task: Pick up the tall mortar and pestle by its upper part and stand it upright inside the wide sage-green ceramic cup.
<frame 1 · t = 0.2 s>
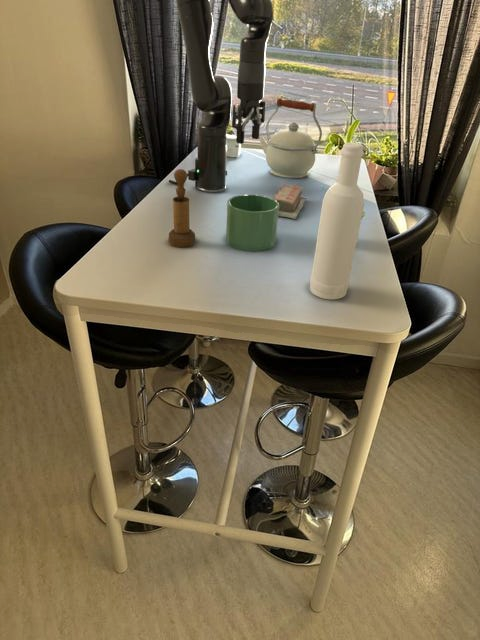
hand: (247, 141, 137), 17 cm above the table, tool pointing down, fingers open, 8 cm apart
plant pot: (340, 243, 120), on the table
kettle: (284, 172, 174), on the table
packaged product: (285, 208, 141), on the table
bottle: (327, 291, 98), on the table
mortar and pestle: (182, 242, 115), on the table
cup: (250, 240, 118), on the table
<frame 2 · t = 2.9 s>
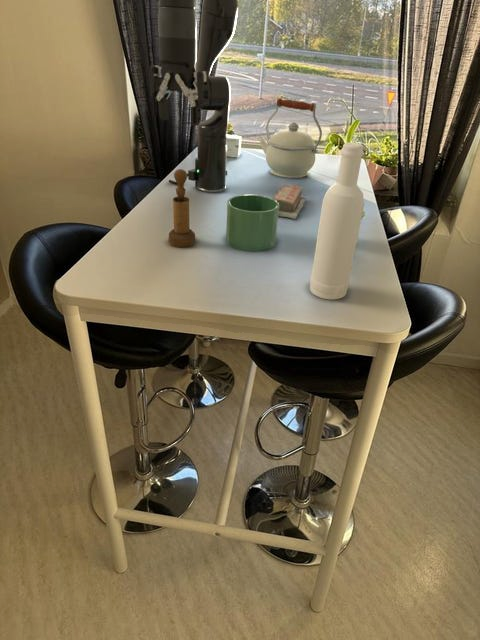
hand: (179, 122, 100), 28 cm above the table, tool pointing down, fingers open, 8 cm apart
nothing on the table moved.
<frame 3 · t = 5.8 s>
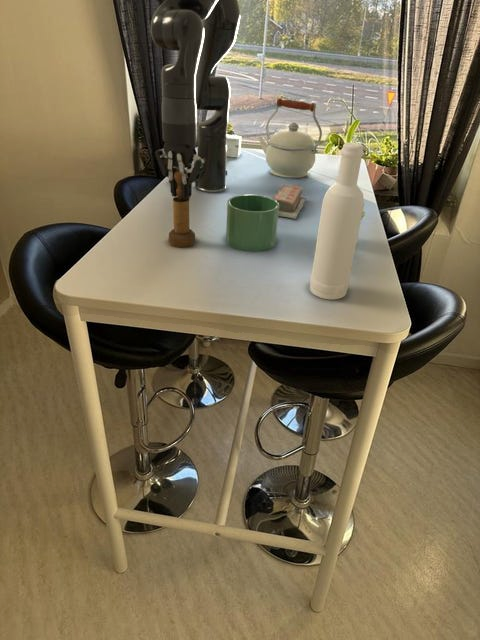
hand: (180, 197, 109), 12 cm above the table, tool pointing down, fingers closed on mortar and pestle, 2 cm apart
mortar and pestle: (182, 242, 115), on the table, touching gripper
everything else where it was.
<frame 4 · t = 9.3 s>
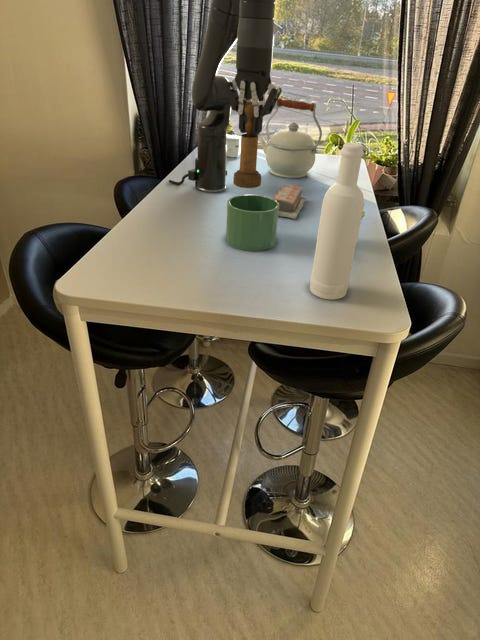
hand: (249, 133, 104), 26 cm above the table, tool pointing down, fingers closed on mortar and pestle, 2 cm apart
mortar and pestle: (247, 185, 110), point 14 cm above the table, touching gripper
everything else where it was.
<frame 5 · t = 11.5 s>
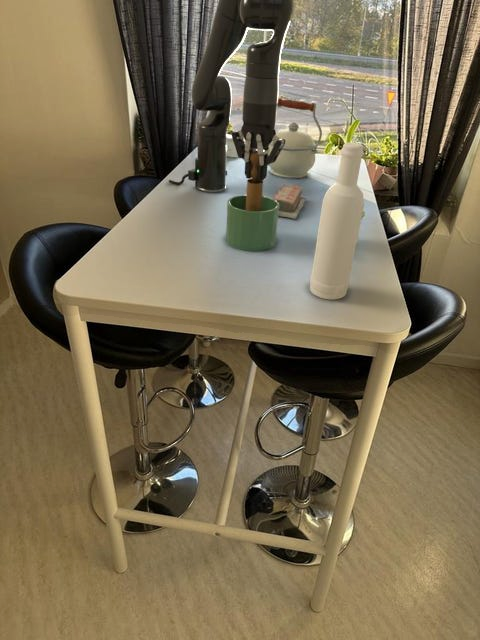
hand: (255, 178, 110), 16 cm above the table, tool pointing down, fingers closed on mortar and pestle, 2 cm apart
mortar and pestle: (252, 225, 116), point 4 cm above the table, touching gripper
everything else where it was.
when the fingers open (12 cm above the table, at t = 12.8 s): mortar and pestle stays where it is, resting on cup.
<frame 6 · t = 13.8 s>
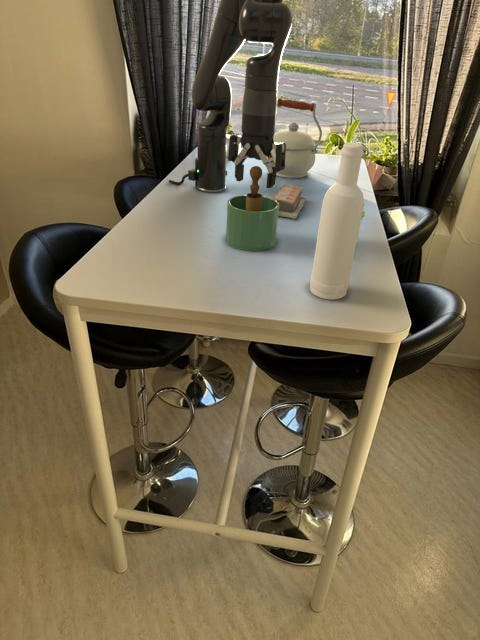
hand: (254, 184, 110), 15 cm above the table, tool pointing down, fingers open, 8 cm apart
mortar and pestle: (251, 238, 118), point 1 cm above the table, touching cup
everything else where it was.
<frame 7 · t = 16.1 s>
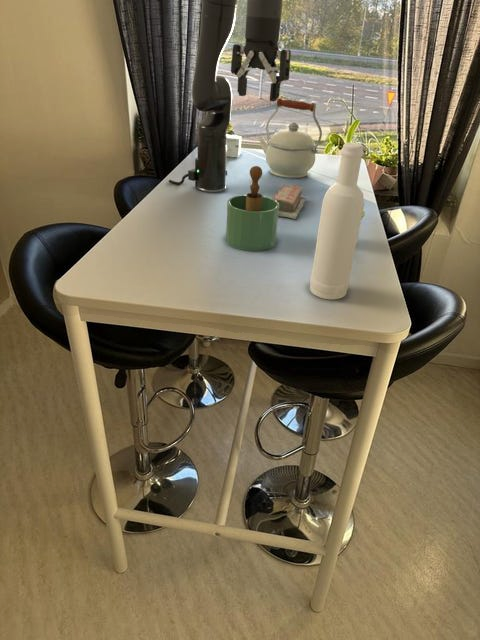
hand: (257, 98, 107), 32 cm above the table, tool pointing down, fingers open, 8 cm apart
nothing on the table moved.
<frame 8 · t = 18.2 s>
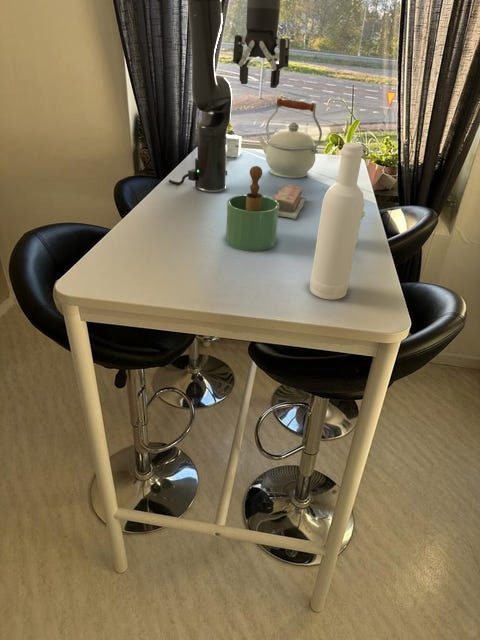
hand: (258, 85, 113), 34 cm above the table, tool pointing down, fingers open, 8 cm apart
nothing on the table moved.
at the end: mortar and pestle inside the target area in the cup (0.1 cm from its centre), point 0.6 cm above the cup's base; mortar and pestle tilted 0°; the gripper is holding nothing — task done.
